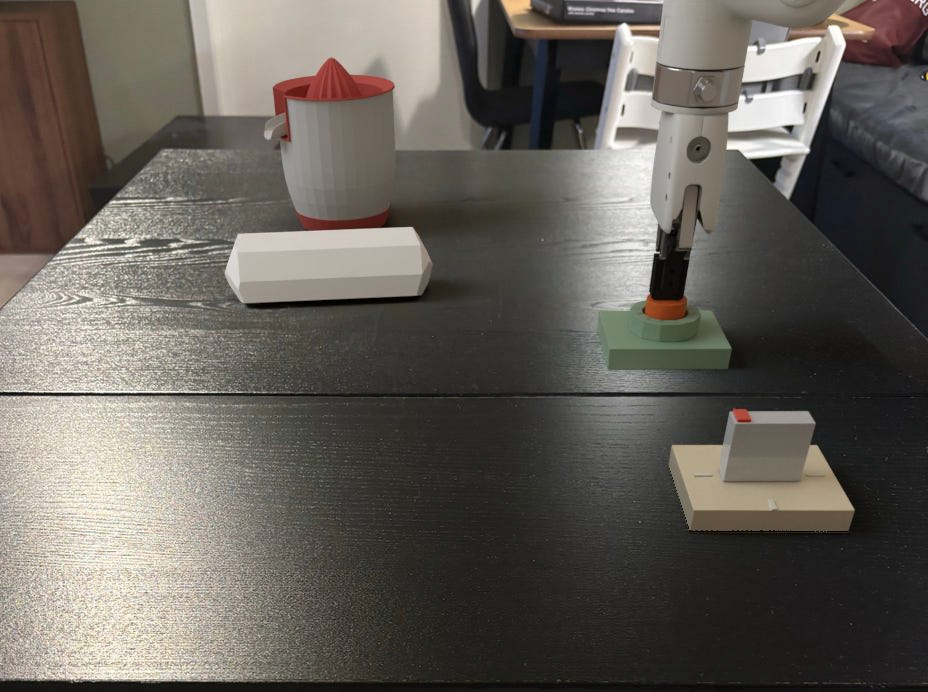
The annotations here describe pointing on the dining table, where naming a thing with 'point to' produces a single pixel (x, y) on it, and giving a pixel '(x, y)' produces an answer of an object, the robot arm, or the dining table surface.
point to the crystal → (328, 265)
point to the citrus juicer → (336, 147)
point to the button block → (662, 340)
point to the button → (666, 308)
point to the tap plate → (757, 495)
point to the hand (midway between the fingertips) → (665, 296)
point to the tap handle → (765, 445)
